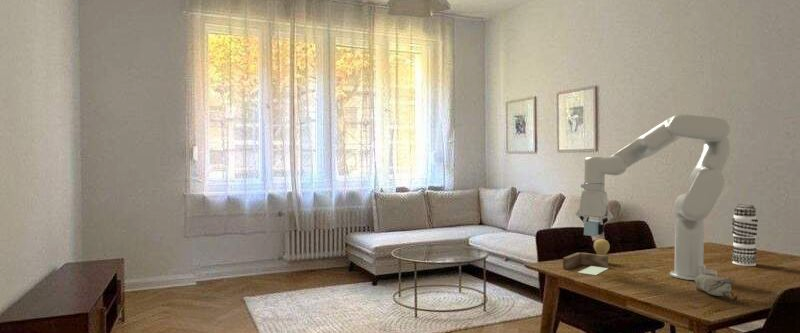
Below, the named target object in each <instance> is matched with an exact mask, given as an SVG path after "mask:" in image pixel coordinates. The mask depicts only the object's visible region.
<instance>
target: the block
mask: <svg viewBox="0 0 800 333" xmlns="http://www.w3.org/2000/svg"><path fill="white" fill-rule="evenodd" d="M599 224H600V222H599V220H595V219H593V220H589V221H587V222H584V223H583V236H588V237H589V236H590V237H597V236H600V235H599V234H598V225H599ZM604 233H605V231H604V232H603V234H602V235H604Z"/></svg>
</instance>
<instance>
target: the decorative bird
mask: <svg viewBox="0 0 800 333" xmlns="http://www.w3.org/2000/svg"><path fill="white" fill-rule="evenodd" d="M734 282H735V279H731V278H724V277H719V276H712V275H708V276H707V275H704V274H701V275H699V276H697V277H696V279H695V280H694V286H695V289H696V290H697V291H699V290H701V289H703V290H704V291H705V293H707V294H709V295H710V296H715V297H723V296H724V297H725V299H724V300H723V302H725V303H727V301H728V302H730V297H729V296H730V294H731V296H732V297H733V298H732V299H731V301H733V302H734V303H735V302H738V296H737V295H738V294H736V295H735V296H734V294H733V292H732V283H734ZM726 295H727V296H726Z"/></svg>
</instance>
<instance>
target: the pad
mask: <svg viewBox="0 0 800 333" xmlns="http://www.w3.org/2000/svg"><path fill="white" fill-rule="evenodd" d="M608 270H609V267H599V266H592V265H589V266H588V267H586V268H584V269H581V270H580V271H577V273H579V274H582V275H584V274H585V275H590V276H591V275H592V276H597V275H599V274H602V273H603V272H605V271H608Z"/></svg>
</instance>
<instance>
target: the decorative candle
mask: <svg viewBox="0 0 800 333" xmlns="http://www.w3.org/2000/svg"><path fill="white" fill-rule="evenodd" d="M733 210H734V212H733V218H732V219H731V221H732V222H731V224H732V227H731V229H732V236H733V244H732V250H731V251H732V254H731V256H732V257H731V259H732V261H731V263H732V264H734V265H738V266H744V267H755V266H756V265H757V263H756V262H757V256H756V254H757V252H756V251H757V246H756V238H757V237H758V236H757V235H758V233H757V232H756V231H757V230H758V228H757V227H758V224H757V223H758V222H759V220H758V219H757V214H756V213H757V208H756V207H755V206H754V205H752V204H746V203H745V204H743V203H742V204H741V203H740V204H736V205H735V207H733Z"/></svg>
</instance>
